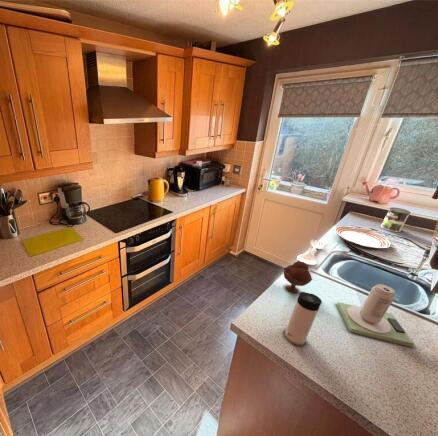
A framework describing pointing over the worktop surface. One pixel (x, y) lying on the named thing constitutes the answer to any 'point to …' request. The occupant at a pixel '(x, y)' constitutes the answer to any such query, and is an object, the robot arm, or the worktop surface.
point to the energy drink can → (377, 303)
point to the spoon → (311, 254)
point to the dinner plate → (362, 237)
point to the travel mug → (302, 318)
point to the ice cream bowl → (297, 276)
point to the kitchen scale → (374, 325)
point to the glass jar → (395, 219)
